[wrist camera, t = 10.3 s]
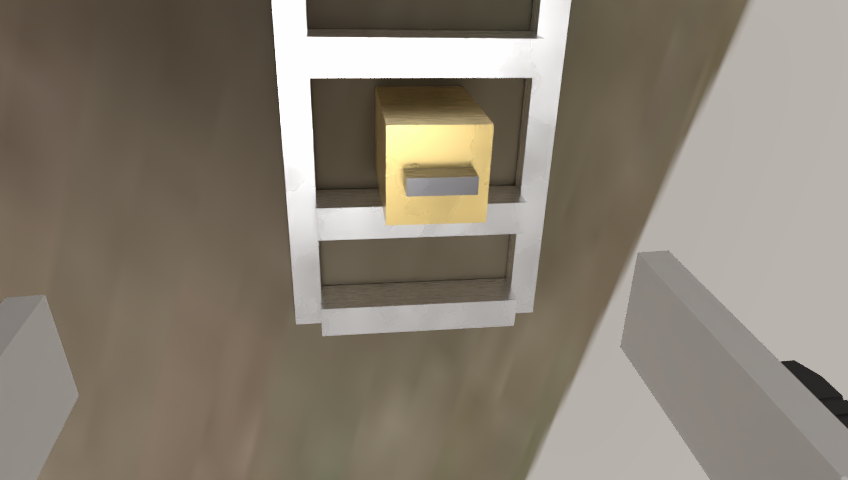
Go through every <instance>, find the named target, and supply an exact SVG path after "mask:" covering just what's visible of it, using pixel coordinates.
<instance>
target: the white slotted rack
mask: <svg viewBox="0 0 848 480" xmlns="http://www.w3.org/2000/svg"><path fill="white" fill-rule="evenodd" d="M271 2H272V15H273V28H274V41H275V54H276V67H277V80H278V93H279V106H280V119H281V132H282V145H283V159H284V172H285V185H286V198H287V211H288V224H289V237H290V250H291V263H292V276H293V289H294V302H295V315H296V324H311V323H322V336H331V335H350V334H369V333H387V332H406V331H424V330H443V329H461V328H480V327H499V326H514V320H515V313H526V312H533V304H534V296H535V288H536V280H537V272H538V264H539V256H540V248H541V239H542V231H543V223H544V215H545V207H546V199H547V191H548V183H549V175H550V167H551V159H552V151H553V143H554V134H555V126H556V118H557V110H558V102H559V94H560V86H561V78H562V70H563V62H564V54H565V46H566V38H567V29H568V21H569V13H570V5H571V0H533V7H532V17H531V27H530V31H478V30H371V29H308V22H307V3H306V0H271ZM311 78H525V88H524V98H523V109H522V119H521V129H520V139H519V149H518V159H517V170H516V180H515V185H508V186H489V191H488V204H487V216H486V223H454V224H421V225H388V226H386V224H385V218H384V213H383V207H382V202H381V196H380V191H379V189H340V190H316V172H315V154H314V135H313V116H312V97H311ZM496 234H510V241H509V251H508V261H507V271H506V278H497V279H474V280H451V281H428V282H405V283H382V284H359V285H336V286H322V285H321V266H320V248H319V241H321V240H350V239H379V238H409V237H438V236H467V235H496Z"/></svg>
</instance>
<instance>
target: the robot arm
mask: <svg viewBox="0 0 848 480" xmlns="http://www.w3.org/2000/svg"><path fill="white" fill-rule="evenodd" d="M620 347H621V348H622V350H623V351H624V353H625V354H626V356H627V357H628V359H629V360H630V361H631V363H632V364H633V366H634V367H635V369H636V370H637V372H638V373H639V375H640V376H641V378H642V379H643V381H644V382H645V384H646V385H647V387H648V388H649V389H650V391H651V393H652V394H653V396H654V397H655V399H656V400H657V402H658V403H659V404H660V406H661V407H662V409H663V410H664V412H665V413H666V415H667V416H668V418H669V419H670V421H671V422H672V424H673V425H674V427H675V428H676V430H677V431H678V432H679V434H680V435H681V437H682V438H683V440H684V441H685V443H686V444H687V446H688V447H689V449H690V450H691V452H692V453H693V454H694V456H695V458H696V459H697V461H698V462H699V463H700V465H701V466H702V468H703V470H704V471H705V472H706V474H707V475H708V477H709V478H710V480H848V401H847V400H843V398H842V397H843V396H842V395H841V394H840V393H839V392H838V391H836V389H834V388H833V387H832V386H831V385H830V384H829V383H828V382H827V381H826V380H825V379H824V378H823V377H821V376H820V375H818V374H817V373H815V372H813V371H812V370H810V369H808V368H806V367H804V366H803V365H801V364H800V363H798V362H796V361H794V360H793V361H782V362H780V361H779V360H778V359H777V358H776V357H775V356H774V355H773V354H772V353H771V352H770V351H769V350H768V349H767V348H766V347H765V346H764V345H763V344H762V343H761V342H760V341H759V340H758V339H757V338H756V337H755V336H754V335H753V334H752V333H751V332H750V331H749V330H748V329H747V328H746V327H745V326H744V325H743V324H742V323H741V322H740V321H739V320H738V319H737V318H736V317H735V316H734V315H733V314H732V313H731V312H730V311H729V310H727V309H726V307H725V306H724V305H723V304H722V303H721V302H720V301H719V300H718V299H717V298H716V297H714V295H713V294H711V292H710V291H709V290H708V289H706V288H705V287H704V286H703V285H702V284H701V283H700V282H699V281H698V280H697V279H696V278H695V277H694V276H693V275H692V274H691V273H690V272H689V271H688V270H687V269H686V268H685V267H684V266H683V265H682V264H681V263H680V262H679V261H678V260H677V259H676V258H675V257H674V256H673V255H672V254H671V253H670V252H669V251H656V252H642V253H638V254H637V260H636V265H635V271H634V276H633V281H632V287H631V292H630V298H629V303H628V309H627V314H626V319H625V325H624V330H623V335H622V341H621V346H620ZM78 396H79V394H78V392H77V389H76V386H75V383H74V380H73V377H72V374H71V371H70V368H69V365H68V362H67V359H66V356H65V353H64V350H63V347H62V344H61V341H60V338H59V335H58V332H57V329H56V326H55V323H54V320H53V317H52V314H51V311H50V308H49V305H48V302H47V299H46V297H45V295H34V296H20V297H6V298H5V299H4V300H3V301H2V303H1V304H0V480H36V479H37V477H38V475H39V473H40V472H41V470H42V468H43V466H44V464H45V462H46V460H47V458H48V456H49V454H50V452H51V450H52V448H53V446H54V444H55V442H56V440H57V438H58V436H59V434H60V432H61V430H62V428H63V426H64V424H65V422H66V420H67V418H68V416H69V414H70V412H71V410H72V408H73V406H74V404H75V402H76V400H77V398H78Z"/></svg>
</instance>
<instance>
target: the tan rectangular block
mask: <svg viewBox="0 0 848 480" xmlns="http://www.w3.org/2000/svg"><path fill="white" fill-rule="evenodd" d="M375 119H376V174H377V180H378V185H379V191H380V196H381V202H382V207H383V213H384V218H385V224H386V226H388V225H421V224H454V223H486V216H487V204H488V191H489V179H490V166H491V154H492V141H493V129H494V124H493V123H492V122H491V120H490V119H489V118H488V117H487V116H486V114H485V113H484V112H483V111H482V110H481V108H480V107H479V106H478V105H477V103H476V102H475V101H474V100H473V99H472V97H471V96H470V95H469V94H468V93H467V91H466V90H465V89H464V88H463V87H375Z"/></svg>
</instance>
